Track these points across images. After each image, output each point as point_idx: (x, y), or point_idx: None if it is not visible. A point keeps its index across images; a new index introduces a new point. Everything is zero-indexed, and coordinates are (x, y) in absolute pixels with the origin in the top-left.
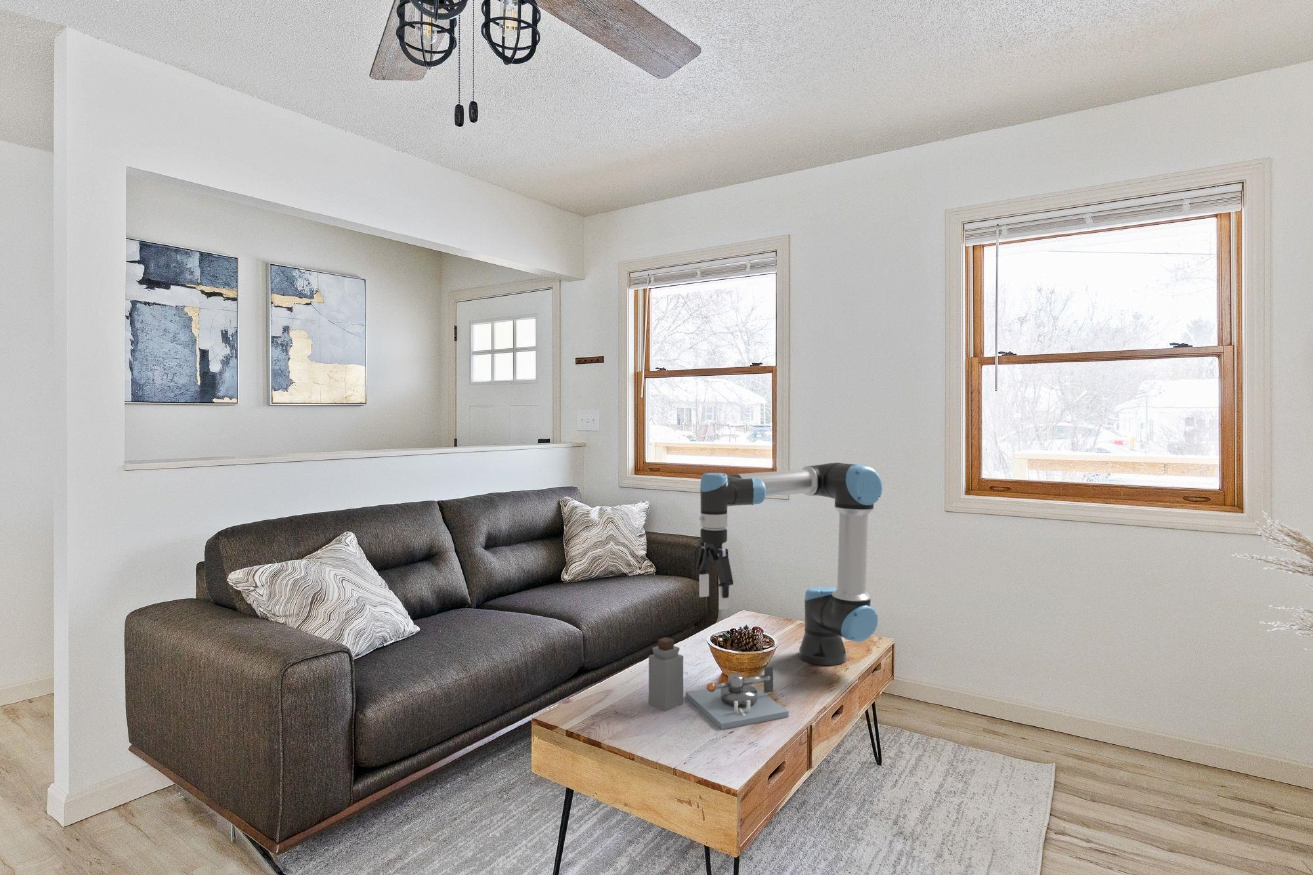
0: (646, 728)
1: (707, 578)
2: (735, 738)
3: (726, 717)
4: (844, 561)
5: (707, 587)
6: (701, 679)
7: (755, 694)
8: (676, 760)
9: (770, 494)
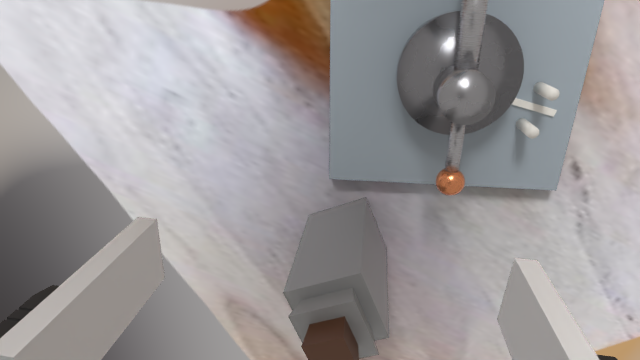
0: (446, 314)
1: (57, 333)
2: (612, 178)
3: (531, 161)
4: None
5: (117, 271)
6: (231, 77)
7: (517, 39)
8: (610, 326)
9: None
